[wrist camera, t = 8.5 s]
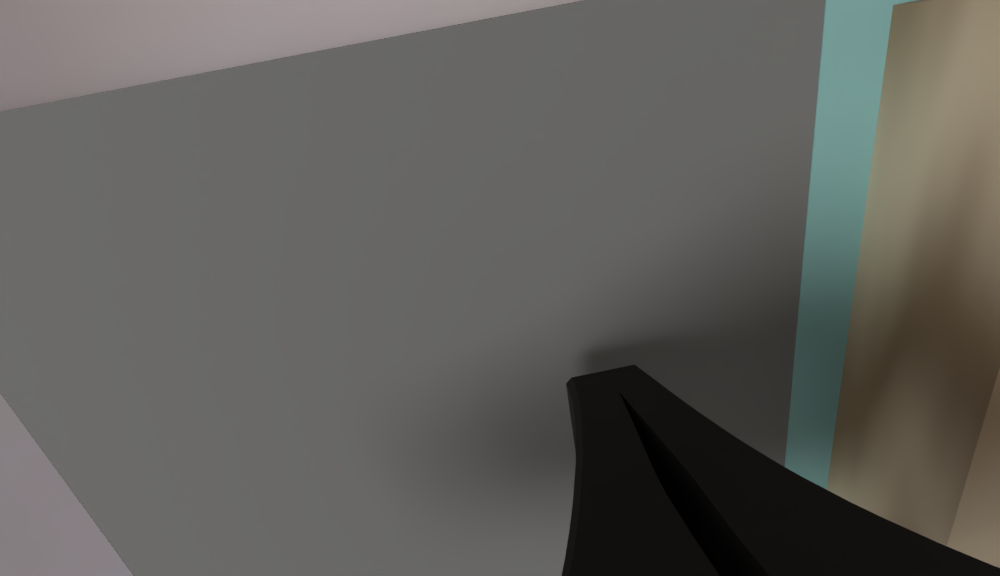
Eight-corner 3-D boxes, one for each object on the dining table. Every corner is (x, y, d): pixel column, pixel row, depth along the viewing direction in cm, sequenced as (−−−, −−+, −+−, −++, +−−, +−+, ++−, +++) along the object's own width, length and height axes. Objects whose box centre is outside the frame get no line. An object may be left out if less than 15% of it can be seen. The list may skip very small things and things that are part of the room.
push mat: (1265, 438, 14) (1282, 446, 14) (214, 668, 14) (209, 680, 13) (1655, -203, 8) (1699, -213, 8) (-158, 143, 8) (-182, 146, 8)
